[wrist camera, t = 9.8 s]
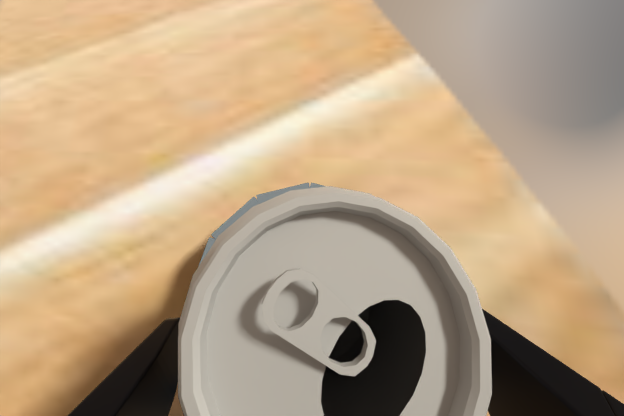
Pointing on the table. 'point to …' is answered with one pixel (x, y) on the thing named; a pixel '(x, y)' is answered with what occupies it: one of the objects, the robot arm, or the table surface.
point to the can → (332, 316)
